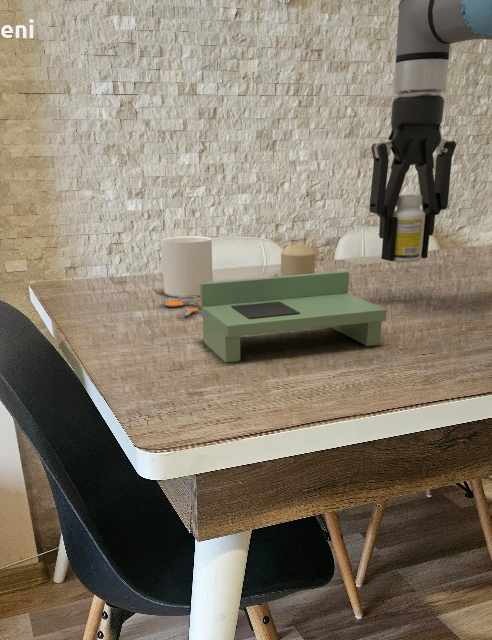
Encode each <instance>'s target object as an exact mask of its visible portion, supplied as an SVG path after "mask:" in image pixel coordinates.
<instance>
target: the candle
mask: <svg viewBox="0 0 492 640" xmlns="http://www.w3.org/2000/svg"><path fill="white" fill-rule="evenodd" d="M315 267H316V252H315V250H314V249H313V248H312V247H311V245H310V244H309V243H306V244H305V243H304V242H302V241H296V242H293V243H292V244H290V245H288V246H287V247H285V248H284V249H283V250H282V251H281V252H280V276H289V275H301V274H313V273H315V269H316V268H315Z"/></svg>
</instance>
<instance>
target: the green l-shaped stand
mask: <svg viewBox="0 0 492 640" xmlns="http://www.w3.org/2000/svg"><path fill="white" fill-rule="evenodd" d="M349 282H350V271H348V270H337V271H326V272H314V273H313V274H301V275H289V276H281V275H279V276H267V277H254V278H243V279H232V280H231V279H230V280H219V281H213V282H205V283H200V296H199V299H200V304H201V307H200V317H202V329H203V330H202V331H203V344H204V345H206V346H207V347H208V348H209V349H210V350H211V351H213V352H214V354H215V355H217V357H219V358H220V359H221V360H222V361H223V362H224V363H225V364H226V363H235V362H241V337H246V336H255V335H264V334H274V333H282V332H292V331H301V330H311V329H320V328H329V327H330V328H331V327H333V329H334V330H336V331H337V332H339V333H341V334H343V335H345V336H347V337H349V338H351V339H352V340H354V341H356V342H358V343H360V344H362V345H364V346H365V347H374V346H379V345H381V336H382V335H381V334H382V325H383V322H385V321H387V312H388V311H387V309H386V308H384V307H382V306H379V305H377V304H375V303H372V302H370V301H367V300H365V299H363V298H360V297H358V296H355V295H353V294H352V293H351V294H350V293H349Z"/></svg>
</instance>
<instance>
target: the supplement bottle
mask: <svg viewBox="0 0 492 640" xmlns="http://www.w3.org/2000/svg"><path fill="white" fill-rule="evenodd" d="M421 207H422V195H421V194H403V195H402V194H401V195H399V198H398V201H397V204H396V209H395V210H394V214H393V216H392V217H396V218H397V230H396V242H395V255H394V261H392V262H393V263H414V262H415V263H416V262H419V261H421V259H422V258H421V256H422V247H423V235H424V224H425V213H424V211H423V209H421Z"/></svg>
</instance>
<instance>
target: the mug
mask: <svg viewBox="0 0 492 640" xmlns="http://www.w3.org/2000/svg"><path fill="white" fill-rule="evenodd" d="M212 242H213V241H212V238H211V237H209V236H203V235H181V236H169V237H165V238H162V239H161V240H160V247H161V248H160V249H161V262H162V263H161V264H162V280H163V293H164V294H165V295H166V296H168V297H173V298H180V297H187V296H196V297H197V298H200V283H205V282H214V281H213V280H214V279H213V250H212V249H213V248H212V247H213V246H212Z"/></svg>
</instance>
